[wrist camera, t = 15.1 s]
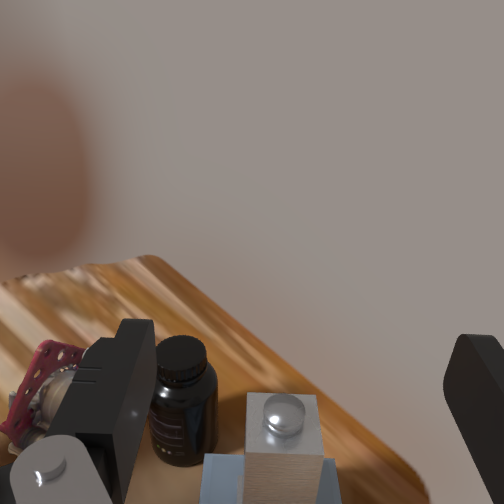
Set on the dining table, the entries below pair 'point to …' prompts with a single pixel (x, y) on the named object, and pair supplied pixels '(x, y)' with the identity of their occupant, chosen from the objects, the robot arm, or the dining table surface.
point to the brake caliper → (40, 394)
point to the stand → (230, 466)
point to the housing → (281, 450)
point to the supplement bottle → (183, 402)
